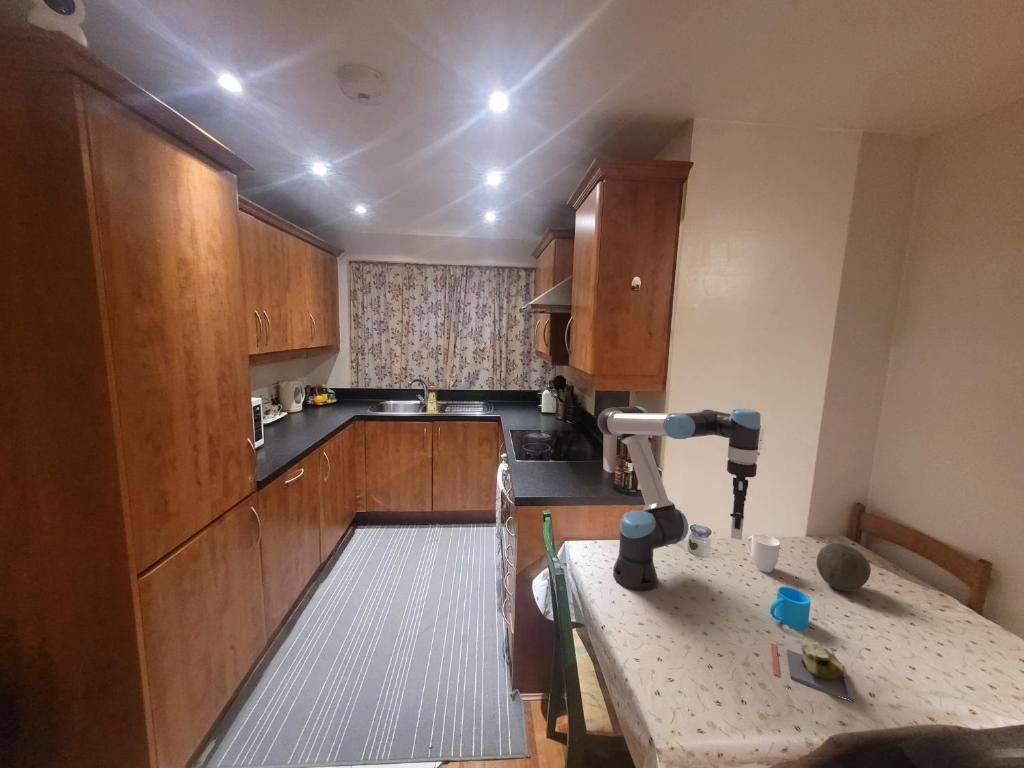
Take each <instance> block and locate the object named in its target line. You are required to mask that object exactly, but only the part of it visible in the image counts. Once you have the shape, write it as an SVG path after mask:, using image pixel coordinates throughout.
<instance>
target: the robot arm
mask: <svg viewBox="0 0 1024 768" xmlns="http://www.w3.org/2000/svg"><path fill="white" fill-rule="evenodd" d="M597 426H598V428H599V430H600V431H601V432H602V434H604V435H605V436H609V437H619V439H620V441H621V443H622V444H625V445H626V448H627V450H628V454H629V456H630V460H631V462H632V466H633V469H634V472H635V475H636V479H637V482H638V484H639V488H640V491H641V494H642V497H643V501H644V503H645V506H644V507H643V510H630V511H627V512H625V513H624V514H622V516H621V518H620V525H619V550H618V556H617V558H616V560H615V563H614V565H613V568H612V570H613V573H612V575H613V578H614V580H615V581H616V582H617V583H618V584H619V585H621V586H622V587H624V588H627V589H629V590H634V591H639V592H644V591H645V592H647V591H652V590H653V589H655V588H656V586H657V585H658V575H657V571H656V567H655V563H654V550H655V549H659V548H662V547H665V546H666V547H667V546H670V545H676V544H678V543H680V542H682V541H684V540H685V539H686V537H687V535H688V533H689V523H688V519H687V517H686V515H685V514H684V513H683V512H682V511H681V510H680V509H678V508H676V505H675V504H674V502H672V501H671V500H670V499H669V498H668V495H667V491H666V487H665V486H664V484H663V480H662V478H661V475H660V472H659V467H658V466H657V462H656V460H655V457H654V454H653V451H652V448H651V445H650V441H649V438H650V436H655V437H656V436H657V437H658V436H659V437H670V438H671V439H673V440H687V439H690V438H691V439H692V438H698V437H707V436H708V437H709V436H718V437H721V438H724V439H725V438H726V439H728V448H727V449H728V450H727V459H728V460H727V462H726V463H727V464H726V472H728V473H729V474H731V476H733V475H734V476H735V477H733V478H732V487H733V488H732V494H733V495H734V496H733V505H732V513H731V512H730V515H729V517H732V519H731V531H730V532H731V533H730V538H732V539H734V540H739V541H742V540H743V539H742V538H743V531H744V530H743V529H744V528H743V527H744V519H745V516H744V513H745V502H746V501H747V494H748V493H747V492H748V488H749V479H746V478H754V477H756V475H757V469H758V468H757V467H758V464H757V462H758V456H761V452H760V451H759V443H760V441H759V440H760V434H761V433H760V432H761V428H762V426H761V413H760V412H759V411H758V410H754V409H746V408H733V409H732V410H731V413H727V412H722V411H721V412H720V411H718V410H713V409H703V408H702V409H698V410H697V411H695V412H686V413H685V412H684V413H682V412H681V413H679V412H678V413H677V412H676V413H673V412H672V413H668V412H667V413H663V412H661V413H656V412H655V413H649V412H648V411H647V409H646V408H644V407H642V406H636V405H630V406H629V405H628V406H617V407H609V408H606V409H604V410H602V411H601V412H600V414H599V415H598V418H597Z"/></svg>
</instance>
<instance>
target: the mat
mask: <svg viewBox="0 0 1024 768" xmlns="http://www.w3.org/2000/svg"><path fill="white" fill-rule="evenodd" d="M786 654H787V655H786V656H787V661H788V667H789V676H790V679H791V680H794V681H796V682H799V683H801V684H804V685H807V686H810V687H812V688H814V689H817V690H819V691H822V692H825V693H828V694H830V695H832V696H835V697H837V696H840V697H843V698H846V699H849V700H851V701H852V702H851V703H854V700H855V695H854V694H855V693H854V692H853V688H852V685H851V682H850V678H849V676H848V677H842V676H840V677H837V678H834V679H823V678H820V677H817V676H815V675H813V674H811V673H810V672H809V671H808V670H807V668H806V667H805V666H804V665H803V664H802V663H801V661H800V659H801V658H802V656H803V653H799V652H796V651H793V650H790V649H786ZM842 665H843V666H844V670H843V672H844V673H845V674H847V675H848V673H847V669H846V666H845V665H844V664H842ZM840 697H839V698H840Z"/></svg>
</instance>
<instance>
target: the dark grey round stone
mask: <svg viewBox="0 0 1024 768" xmlns="http://www.w3.org/2000/svg"><path fill="white" fill-rule="evenodd" d="M815 564H816V567H817V571H818V573H819V575H820V576H821V578H822V579H823V581H824V582H826V583H827V584H828V585H830V586H832V588H835V589H836V590H839V591H842V592H852V591H856V590H859V589H860V588H862V587H863V586H864V585H865V584H866V583H867V582H868V580H869V579H870V577H871V573H872V572H871V571H872V570H871V569H872V568H871V565H870V563H869V560H867V557H865V555H864V554H863V553H862V552H861V551H859V550H858V549H857V548H854V547H852V546H849V545H845V544H843V543H828V544H826V545H825V546H822V548H821V549H820V551H819V552H818V554H817V557H816V563H815Z"/></svg>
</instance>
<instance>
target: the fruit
mask: <svg viewBox="0 0 1024 768" xmlns="http://www.w3.org/2000/svg"><path fill="white" fill-rule="evenodd" d="M801 649H802V655H803V656H802V658H801V659H800V661H801V663H802V664H803V665H804V666H805V667H806V668H807V670H808V671H809V672H810V673H811V674H813V675H815V676H817V677H820V678H823V679H834V678H837V677H840V676H842V677H848V678H849V675H848V673H847V674H845V673H844V672H843V670H844V666H845V665H844V664H842V662H841V661H839V659H838V658H837V656H836V655H835V652H834V651H831V652H830V651H829V650H828V649H827V648H826V646H824V645H823V644H821V643H820V642H818V641H815V642H813V641H805V643H804V644H801ZM843 665H844V666H843Z"/></svg>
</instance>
